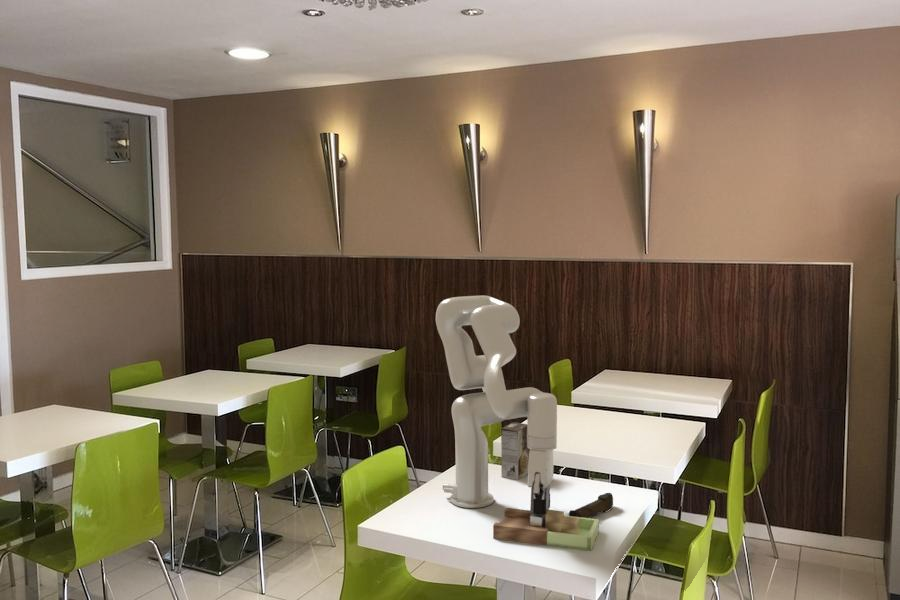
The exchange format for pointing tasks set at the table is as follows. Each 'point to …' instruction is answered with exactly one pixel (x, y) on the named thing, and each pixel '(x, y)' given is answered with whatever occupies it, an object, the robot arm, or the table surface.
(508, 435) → the coffee box
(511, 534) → the slot board
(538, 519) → the cube with crossbar
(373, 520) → the table surface
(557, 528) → the light brown cube
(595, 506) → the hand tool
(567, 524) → the light brown wooden block
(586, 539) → the tray
